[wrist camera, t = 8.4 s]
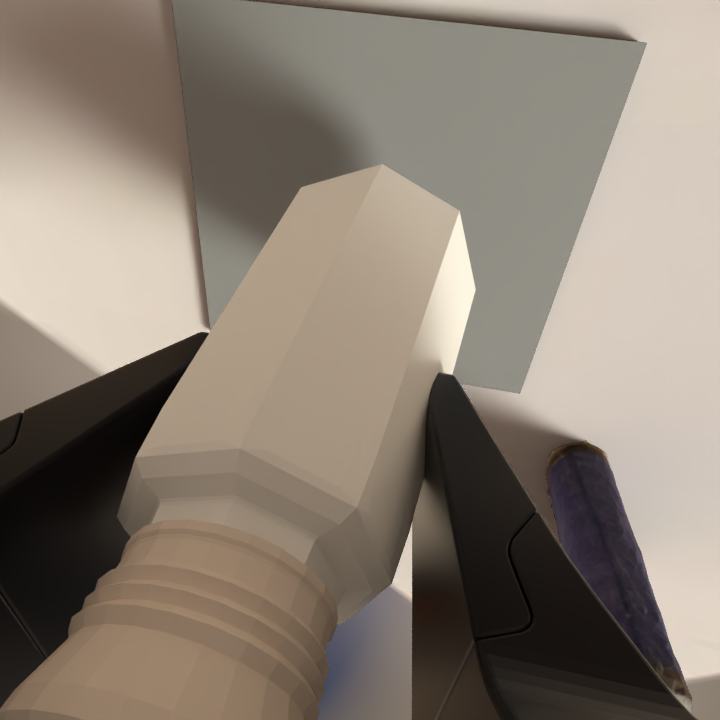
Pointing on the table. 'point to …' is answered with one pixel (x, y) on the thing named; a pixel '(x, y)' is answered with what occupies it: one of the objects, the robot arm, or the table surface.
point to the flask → (609, 553)
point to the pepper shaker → (275, 470)
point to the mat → (403, 142)
